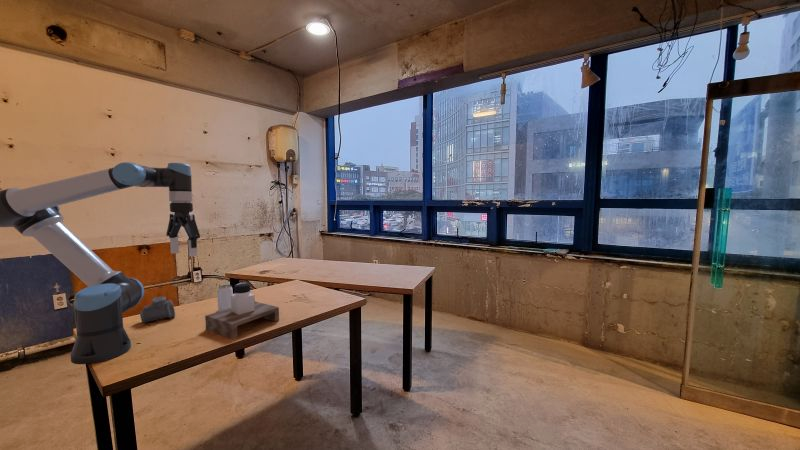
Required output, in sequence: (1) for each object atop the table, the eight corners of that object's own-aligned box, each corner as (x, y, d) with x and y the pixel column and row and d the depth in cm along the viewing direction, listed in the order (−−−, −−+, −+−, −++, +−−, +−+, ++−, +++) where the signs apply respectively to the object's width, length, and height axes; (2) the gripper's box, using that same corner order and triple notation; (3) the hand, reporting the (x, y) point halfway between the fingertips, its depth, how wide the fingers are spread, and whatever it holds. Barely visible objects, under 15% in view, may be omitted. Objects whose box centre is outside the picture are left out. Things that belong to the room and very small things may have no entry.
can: (236, 309, 152) (235, 285, 151) (222, 313, 147) (221, 289, 146) (228, 307, 155) (227, 284, 155) (215, 311, 150) (214, 287, 149)
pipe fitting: (174, 312, 146) (170, 292, 144) (177, 318, 141) (173, 298, 138) (141, 322, 138) (137, 301, 136) (143, 329, 133) (138, 307, 130)
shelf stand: (205, 329, 128) (205, 315, 128) (253, 313, 147) (252, 300, 147) (232, 339, 120) (232, 324, 119) (279, 320, 139) (278, 307, 138)
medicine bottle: (255, 311, 133) (254, 283, 132) (237, 315, 128) (236, 287, 127) (248, 307, 138) (247, 280, 137) (231, 311, 133) (230, 284, 132)
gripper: (208, 202, 121) (211, 255, 122) (175, 202, 133) (177, 250, 134) (188, 202, 114) (190, 258, 116) (154, 202, 126) (157, 253, 128)
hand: (183, 254), depth 125 cm, fingers open, 13 cm apart
